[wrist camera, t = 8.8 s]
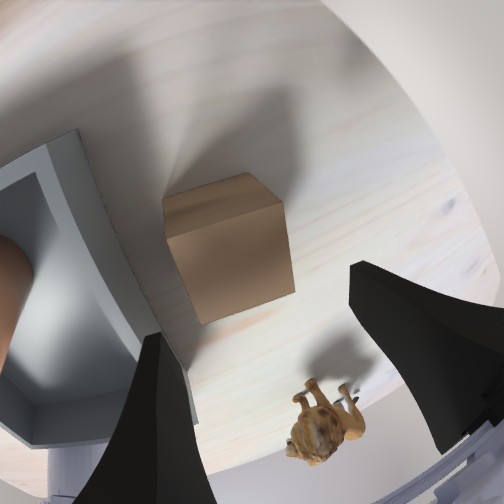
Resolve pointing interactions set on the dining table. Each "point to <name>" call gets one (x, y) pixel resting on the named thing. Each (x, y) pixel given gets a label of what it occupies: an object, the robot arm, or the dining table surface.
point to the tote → (69, 304)
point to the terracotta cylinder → (12, 290)
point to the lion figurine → (323, 426)
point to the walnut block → (229, 246)
